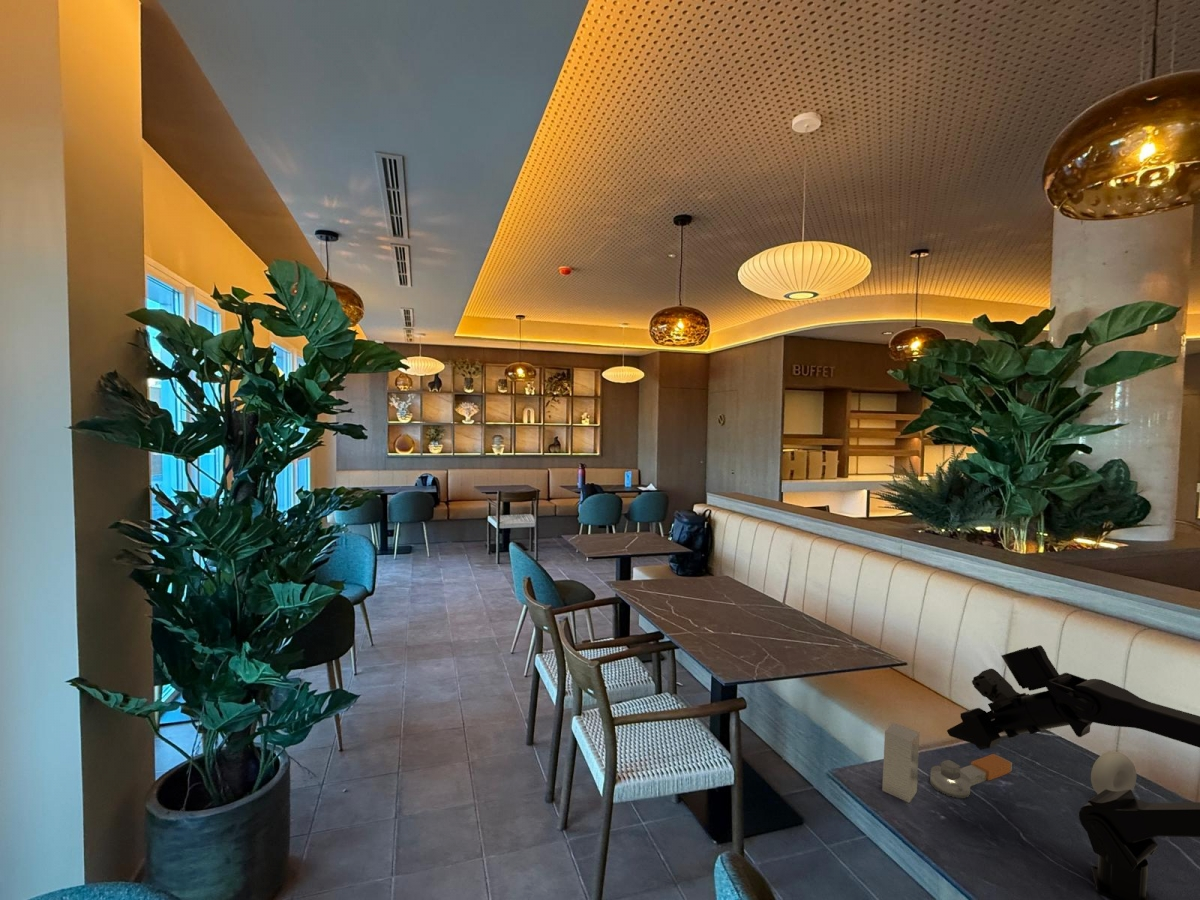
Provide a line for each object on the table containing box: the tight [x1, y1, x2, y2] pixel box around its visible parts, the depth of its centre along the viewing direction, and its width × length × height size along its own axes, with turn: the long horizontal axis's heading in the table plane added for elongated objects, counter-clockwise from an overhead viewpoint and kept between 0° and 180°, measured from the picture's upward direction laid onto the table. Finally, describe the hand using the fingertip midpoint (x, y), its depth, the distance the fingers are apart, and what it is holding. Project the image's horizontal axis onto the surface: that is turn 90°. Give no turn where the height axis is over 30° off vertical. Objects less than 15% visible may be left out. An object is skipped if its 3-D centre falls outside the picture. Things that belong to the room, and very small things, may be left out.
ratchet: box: [929, 753, 1013, 799], centre depth 117 cm, size 22×7×5 cm, turn 114°
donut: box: [1090, 750, 1137, 795], centre depth 111 cm, size 10×4×10 cm, turn 105°
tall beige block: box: [881, 722, 920, 804], centre depth 112 cm, size 5×5×12 cm
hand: (961, 727), depth 110 cm, fingers open, 9 cm apart
